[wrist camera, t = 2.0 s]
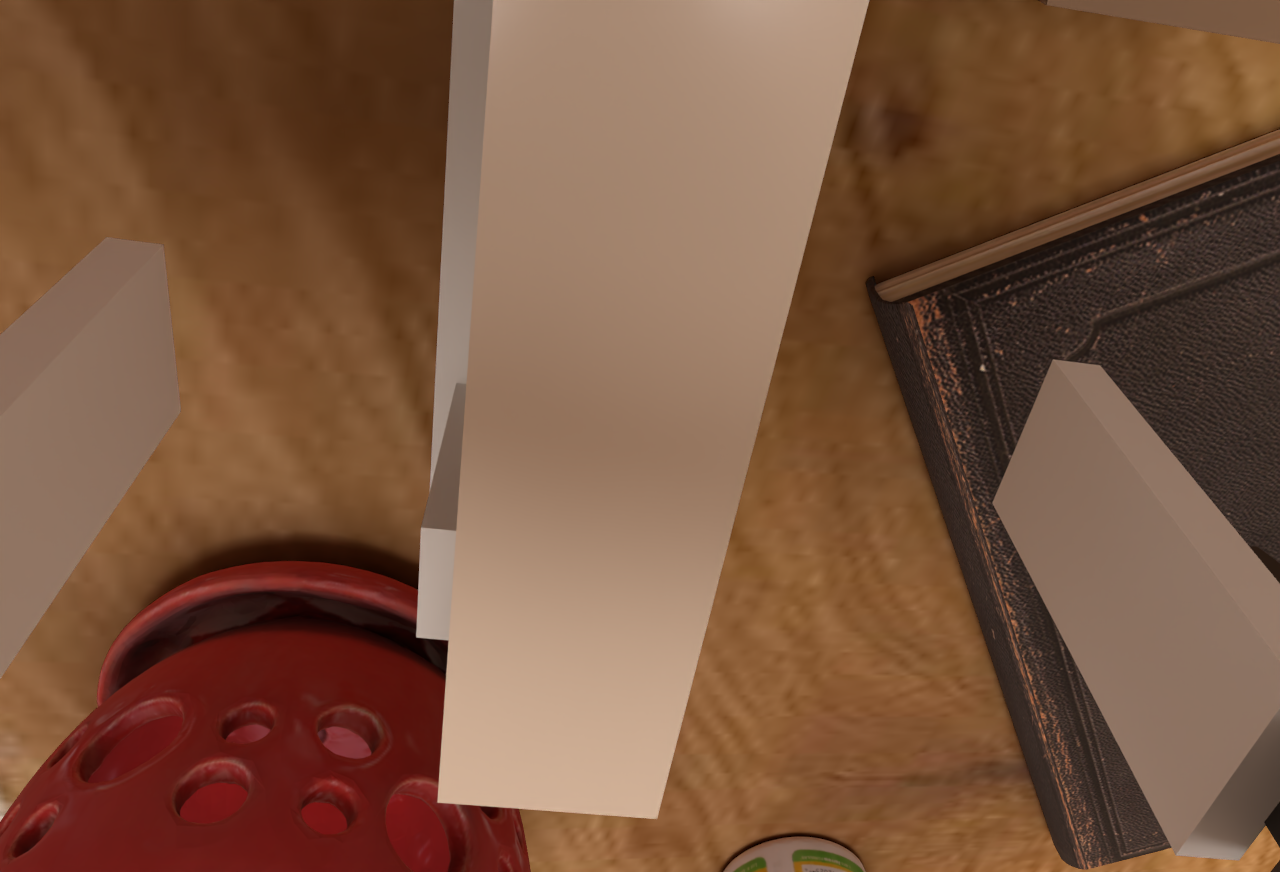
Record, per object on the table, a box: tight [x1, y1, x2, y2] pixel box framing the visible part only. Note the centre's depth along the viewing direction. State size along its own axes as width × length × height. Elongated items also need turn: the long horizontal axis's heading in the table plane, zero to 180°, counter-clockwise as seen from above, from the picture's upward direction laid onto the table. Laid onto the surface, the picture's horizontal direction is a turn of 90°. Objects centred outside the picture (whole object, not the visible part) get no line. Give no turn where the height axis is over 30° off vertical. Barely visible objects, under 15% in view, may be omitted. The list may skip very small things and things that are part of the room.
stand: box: [416, 0, 493, 640], centre depth 20 cm, size 18×7×6 cm, turn 171°
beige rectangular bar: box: [437, 0, 869, 819], centre depth 16 cm, size 17×4×4 cm, turn 171°
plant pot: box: [0, 561, 531, 872], centre depth 26 cm, size 13×13×12 cm
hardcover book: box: [866, 129, 1280, 870], centre depth 28 cm, size 16×23×2 cm
